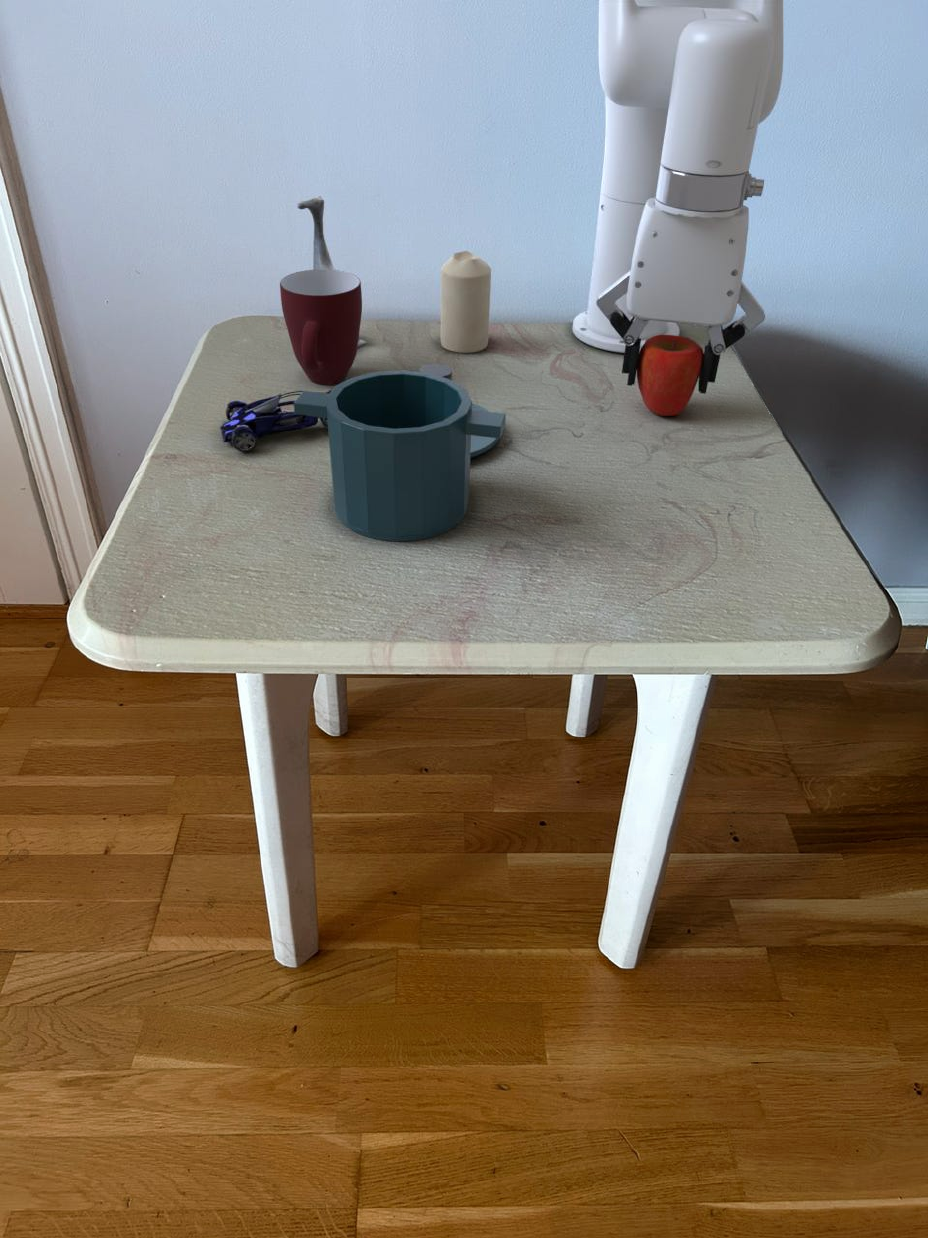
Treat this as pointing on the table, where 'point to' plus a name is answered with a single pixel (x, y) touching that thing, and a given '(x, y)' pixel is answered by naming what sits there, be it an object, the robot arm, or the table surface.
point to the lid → (477, 442)
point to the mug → (323, 321)
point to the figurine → (319, 238)
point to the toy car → (262, 421)
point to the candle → (465, 303)
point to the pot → (400, 451)
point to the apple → (668, 373)
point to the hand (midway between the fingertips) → (666, 382)
